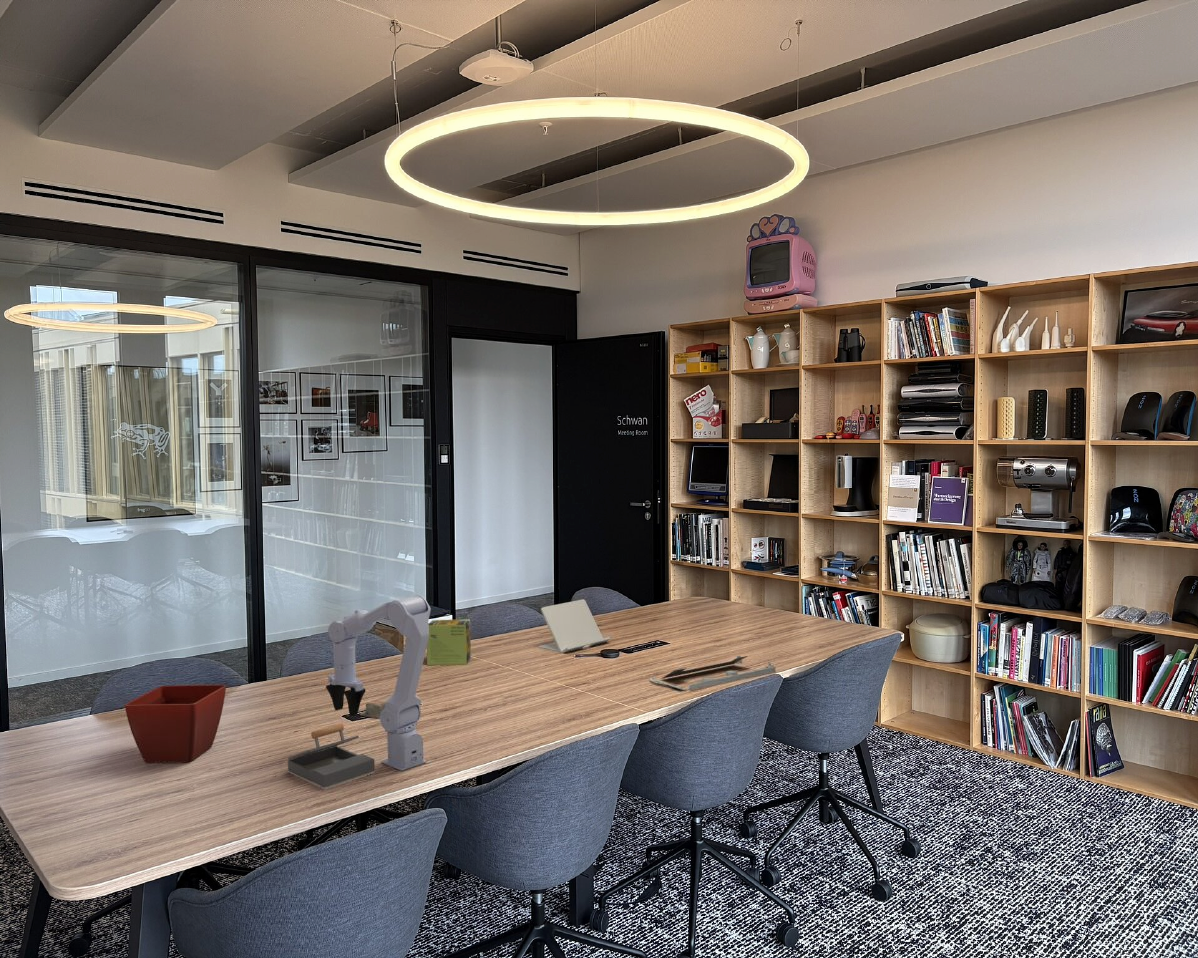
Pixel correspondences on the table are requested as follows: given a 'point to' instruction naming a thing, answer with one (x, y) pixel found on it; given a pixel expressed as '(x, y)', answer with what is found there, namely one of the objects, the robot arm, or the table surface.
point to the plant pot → (176, 721)
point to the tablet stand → (571, 627)
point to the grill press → (324, 732)
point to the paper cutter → (710, 681)
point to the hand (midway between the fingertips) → (346, 712)
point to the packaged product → (375, 707)
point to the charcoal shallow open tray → (331, 767)
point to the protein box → (449, 642)
